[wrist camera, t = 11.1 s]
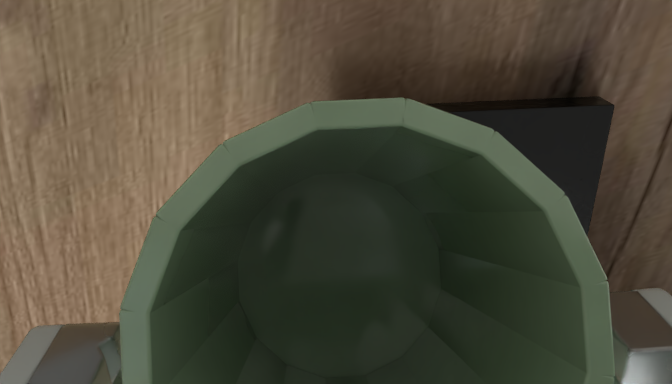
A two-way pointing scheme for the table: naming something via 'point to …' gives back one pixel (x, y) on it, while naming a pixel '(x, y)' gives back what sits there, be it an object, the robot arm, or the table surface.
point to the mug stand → (552, 139)
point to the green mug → (367, 260)
